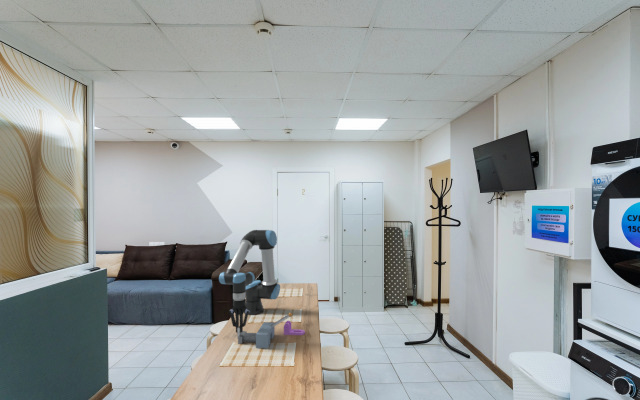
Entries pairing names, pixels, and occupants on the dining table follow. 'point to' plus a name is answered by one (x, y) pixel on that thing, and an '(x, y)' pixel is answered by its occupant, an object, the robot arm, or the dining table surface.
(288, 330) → the bracket
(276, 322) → the latch bar
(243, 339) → the gray block
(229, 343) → the dining table surface
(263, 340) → the hitch block
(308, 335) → the dining table surface
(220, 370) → the dining table surface
